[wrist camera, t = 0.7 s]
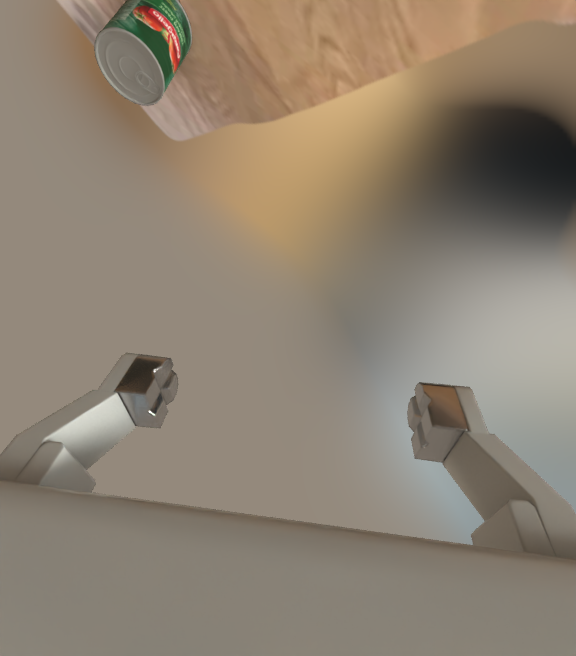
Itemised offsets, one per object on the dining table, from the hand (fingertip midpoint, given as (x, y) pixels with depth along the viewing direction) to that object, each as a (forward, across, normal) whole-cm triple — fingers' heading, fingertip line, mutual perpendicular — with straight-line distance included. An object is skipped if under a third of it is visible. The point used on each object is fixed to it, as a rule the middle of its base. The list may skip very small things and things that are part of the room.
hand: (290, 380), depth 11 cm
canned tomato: (+49, +23, -10) cm, 55 cm away
